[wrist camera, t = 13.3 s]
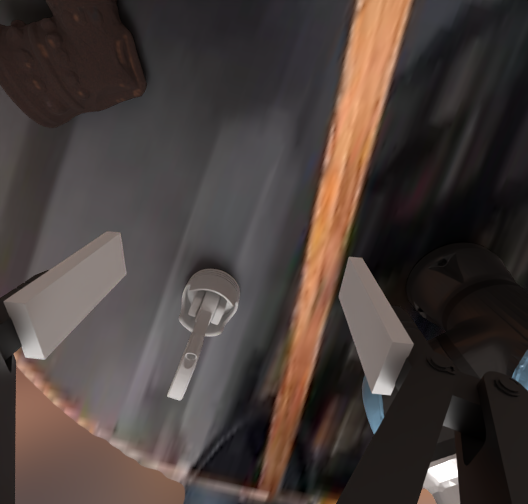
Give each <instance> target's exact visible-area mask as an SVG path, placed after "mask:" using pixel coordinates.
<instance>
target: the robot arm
mask: <svg viewBox="0 0 528 504" xmlns="http://www.w3.org/2000/svg"><path fill="white" fill-rule="evenodd" d="M126 274H127V273H126V267H125V260H124V253H123V246H122V240H121V233H118V232H109V231H107V232H105V233H104V234H102V235H101V236H99V237H98V238H96V239H95V240H93V241H92V242H91V243H89V244H88V245H86V246H85V247H83V248H82V249H80V250H79V251H77V252H76V253H74V254H73V255H71V256H70V257H68V258H67V259H65V260H64V261H62V262H61V263H59V264H58V265H56V266H55V267H53V268H52V269H51V270H47V271H44V272H42V273H39V274H37V275H35V276H33V277H32V278H30V279H29V280H27V281H25V283H22V284H21V285H19V286H18V287H17V289H16V288H15V289H13V290H12V291H10V292H9V293H7V294H6V295H4V296H3V297H1V298H0V504H15V405H16V404H15V403H16V400H15V399H16V360H15V357H14V355H13V353H14V352H16V351H17V350H18V349H19V348H20V347H22V349H23V352H24V354H25V357H26V358H35V359H46V358H47V357H48V356H49V355H50V354H51V353H52V352H53V350H54V349H55V348H56V347H57V346H58V345H59V344H60V343H61V342H62V341H63V340H64V339H65V338H66V337H67V336H68V335H69V334H70V333H71V332H72V331H73V330H74V329H75V327H76V326H77V325H78V324H79V323H80V322H81V321H82V320H83V319H84V318H85V317H86V316H87V315H88V314H89V313H90V312H91V311H92V310H93V309H94V308H95V307H96V306H97V304H98V303H99V302H100V301H101V300H102V299H103V298H104V297H105V296H106V295H107V294H108V293H109V292H110V291H111V290H112V289H113V288H114V287H115V286H116V285H117V284H118V282H119V281H120V280H121V279H122V278H123V277H124V276H125V275H126ZM406 293H407V297H408V299H409V301H410V303H411V304H412V305H413V307H414V308H415V310H416V311H417V312H418V313H419V314H420V315H421V316H423V317H424V318H426V319H427V320H429V321H431V322H432V323H434V324H435V325H437V326H439V327H440V328H442V329H443V330H445V331H446V332H445V333H443V334H441V335H439V336H437V337H435V338H433V339H431V340H429V341H427V340H426V339H425V337H424V336H423V334H422V333H421V331H420V330H418V327H417V325H416V324H415V323H414V321H413V319H412V318H411V316H410V315H409V314H408V313H407V312H406V311H405V310H404V309H402V308H401V307H400V306H393V305H390V304H389V302H388V300H387V299H386V297H385V295H384V294H383V292H382V290H381V289H380V287H379V285H378V284H377V282H376V280H375V279H374V277H373V275H372V274H371V272H370V270H369V269H368V267H367V265H366V264H365V262H364V260H363V259H362V258H356V257H349V259H348V263H347V266H346V270H345V274H344V278H343V282H342V285H341V289H340V293H339V299H340V302H341V305H342V308H343V311H344V314H345V317H346V319H347V322H348V325H349V328H350V331H351V334H352V337H353V340H354V343H355V346H356V349H357V352H358V355H359V358H360V361H361V364H362V366H363V369H364V372H365V376H364V379H363V384H362V396H363V402H364V407H365V411H366V414H367V417H368V420H369V423H370V426H371V428H372V431H373V433H374V436H373V438H372V440H371V442H370V443H369V445H368V447H367V449H366V451H365V452H364V454H363V456H362V458H361V460H360V462H359V463H358V465H357V467H356V469H355V471H354V472H353V474H352V476H351V478H350V480H349V481H348V483H347V485H346V487H345V489H344V490H343V492H342V494H341V496H340V498H339V499H338V501H337V503H336V504H417V502H418V499H419V496H420V493H421V490H422V487H424V488H425V489H427V490H428V491H429V492H430V493H431V494H432V495H433V497H434V499H435V501H436V503H437V504H528V291H526V290H525V289H523V288H522V287H520V286H519V285H518V284H516V282H515V280H514V279H513V277H512V276H511V274H510V273H509V271H508V270H507V269H506V267H505V265H504V263H503V261H502V260H501V259H500V258H499V257H498V256H497V255H496V254H494V253H493V252H491V251H490V250H488V249H486V248H485V247H483V246H481V245H478V244H474V243H453V244H449V245H445V246H443V247H440V248H438V249H436V250H434V251H432V252H430V253H429V254H427V255H426V256H424V257H423V258H422V259H421V260H420V261H419V262H418V263H417V264H416V265H415V266H414V268H413V269H412V271H411V273H410V275H409V277H408V280H407V284H406Z"/></svg>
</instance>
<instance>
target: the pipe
mask: <svg viewBox="0 0 528 504" xmlns="http://www.w3.org/2000/svg"><path fill="white" fill-rule="evenodd" d="M45 1H46V3H47V4H48V6H49V8H50V9H51V11H52V13H53V17H51V18H43V19H42V20H40V21H38V22H32V23H30V24H25V23H24V22H23V21H20V20H15V21H12V23H11V26H5V25H1V24H0V85H1V86H2V88H3V89H4V90H5V92H6V93H7V95H8V96H9V97H10V98H11V99H12V100H13V102H14V103H15V104H16V105H17V106H18V107H19V108H20V109H21V110H22V111H23V112H24V113H25V114H26V115H27V116H28V117H29V118H31V119H32V120H34V121H35V122H36V123H38V124H40V125H42V126H45V127H49V128H56V127H58V126H60V125H62V124H64V123H66V122H68V121H69V120H71V119H72V118H73V117H75V116H77V115H79V114H82V113H86V112H93V111H101V110H104V109H107V108H109V107H111V106H114V105H116V104H118V103H120V102H123V101H126V100H129V99H132V98H136V97H140V96H142V94H143V93H144V92H145V89H146V86H147V83H146V79H145V76H144V73H143V70H142V67H141V63H140V60H139V57H138V54H137V50H136V47H135V43H134V39H133V36H132V34H131V32H130V31H129V30H128V29H127V28H126V27H125V26H124V25H123V24H122V22H121V20H120V17H119V14H118V7H117V0H45Z"/></svg>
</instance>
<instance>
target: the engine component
mask: <svg viewBox="0 0 528 504" xmlns="http://www.w3.org/2000/svg"><path fill="white" fill-rule="evenodd" d="M239 298H240V289H239V286H238V284H237V282H236V280H235V279H234V278H233V277H232V276H231V275H229V274H228V273H226V272H224V271H222V270H218V269H203V270H200V271H198V272H196V273H195V274H194V275H193V276H192V277H191V278H190V280H189V281H188V283H187V285H186V287H185V289H184V291H183V295H182V308H181V313H180V315H179V321H180V322H181V324H182V325H183V326H184V327H185V328H186V329H188V330H189V331H191V332H192V334H191V336H190V339H189V341H188V344H187V346H186V349H185V351H184V354H183V356H182V358H181V361H180V363H179V366H178V368H177V371H176V373H175V376H174V378H173V381H172V383H171V386H170V389H169V391H168V394H167V397H170V398H173V399H177V400H181V399H182V398H183V396H184V393H185V391H186V389H187V386H188V384H189V382H190V379H191V377H192V374H193V371H194V369H195V366H196V363H197V361H198V358H199V355H200V352H201V349H202V346H203V342H204V340H203V339H204V336H217V335H220V334H221V333H222V332H223V329H224V326H225V325H226V324H227V322H228V321H229V320H230V319H231V318H232V316H233V315H234V314H235V312H236V310H237V307H238V303H239Z"/></svg>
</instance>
